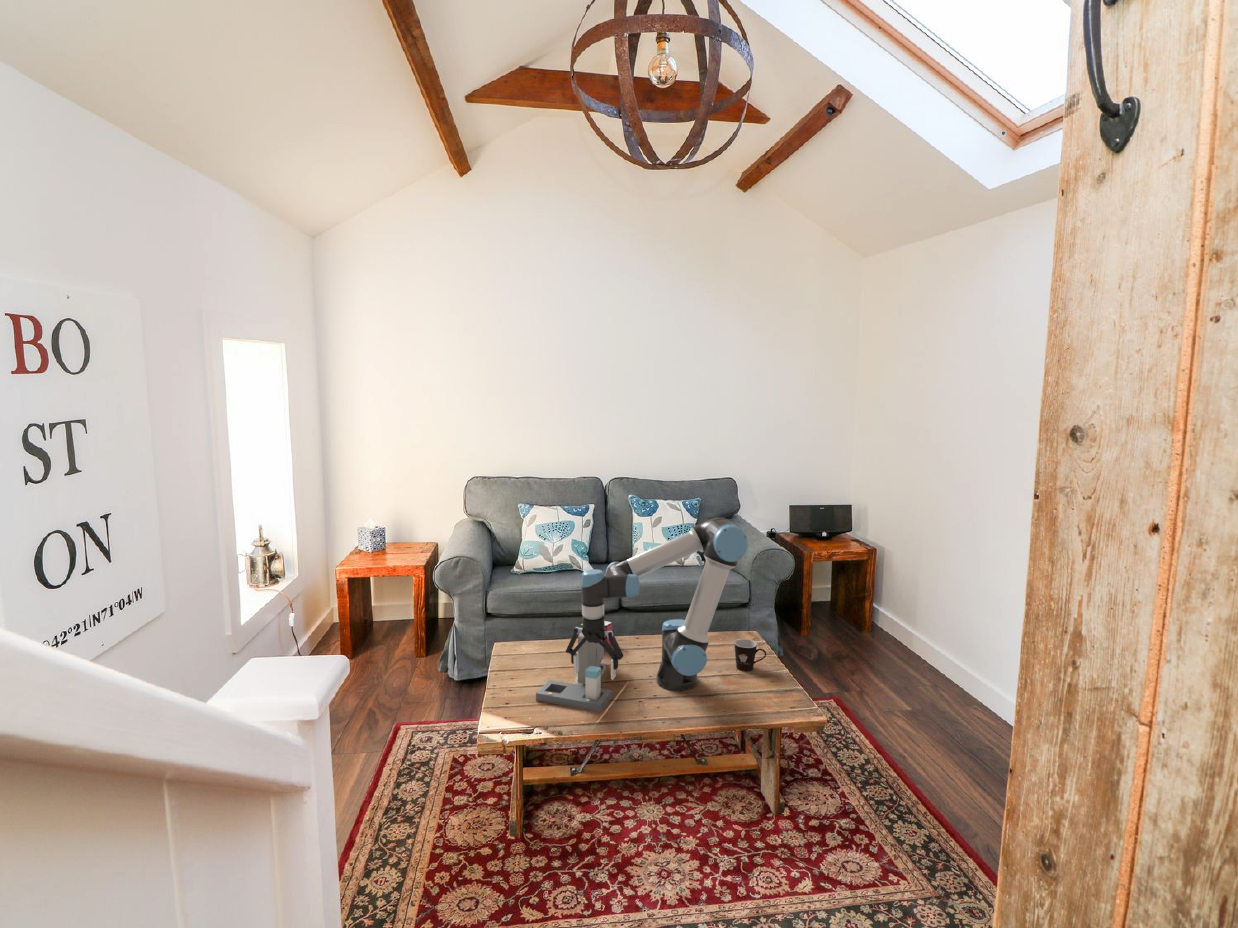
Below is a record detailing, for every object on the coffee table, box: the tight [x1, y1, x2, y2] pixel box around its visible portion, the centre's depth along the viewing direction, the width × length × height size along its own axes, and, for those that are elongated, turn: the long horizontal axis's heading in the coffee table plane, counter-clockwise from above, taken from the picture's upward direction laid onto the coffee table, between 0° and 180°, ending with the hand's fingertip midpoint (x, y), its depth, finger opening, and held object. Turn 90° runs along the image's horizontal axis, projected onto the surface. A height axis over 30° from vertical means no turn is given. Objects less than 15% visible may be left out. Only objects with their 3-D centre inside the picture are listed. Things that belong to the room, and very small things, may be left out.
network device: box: [574, 632, 607, 686], centre depth 252 cm, size 26×9×20 cm, turn 168°
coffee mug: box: [734, 638, 767, 673], centre depth 258 cm, size 12×9×10 cm
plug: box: [584, 666, 602, 700], centre depth 230 cm, size 4×4×12 cm
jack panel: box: [535, 679, 613, 713], centre depth 233 cm, size 24×11×3 cm, turn 71°
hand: (594, 675), depth 230 cm, fingers open, 13 cm apart
